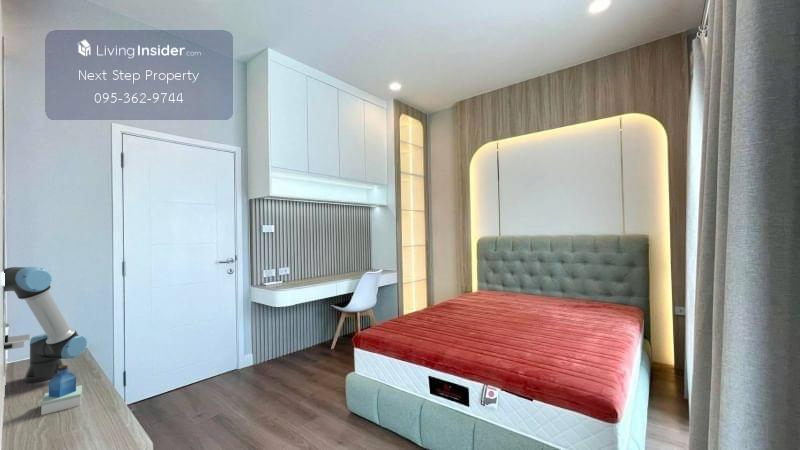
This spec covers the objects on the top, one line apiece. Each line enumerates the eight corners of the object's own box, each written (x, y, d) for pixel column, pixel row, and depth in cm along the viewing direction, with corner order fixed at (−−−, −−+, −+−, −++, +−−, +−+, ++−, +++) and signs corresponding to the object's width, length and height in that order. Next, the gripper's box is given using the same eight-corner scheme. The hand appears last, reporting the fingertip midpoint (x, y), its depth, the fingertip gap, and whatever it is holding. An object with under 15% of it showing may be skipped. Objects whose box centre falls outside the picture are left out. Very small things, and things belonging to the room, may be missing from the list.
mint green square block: (45, 404, 150) (45, 393, 151) (81, 395, 158) (82, 385, 159) (41, 415, 141) (41, 403, 142) (80, 405, 149) (80, 393, 150)
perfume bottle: (59, 397, 146) (60, 369, 147) (48, 396, 148) (49, 368, 148) (75, 391, 152) (76, 364, 153) (65, 390, 154) (65, 363, 154)
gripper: (-42, 353, 143) (31, 342, 157) (-64, 370, 124) (21, 356, 138) (-42, 335, 143) (32, 326, 157) (-64, 350, 124) (22, 337, 138)
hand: (27, 340), depth 148 cm, fingers open, 13 cm apart
